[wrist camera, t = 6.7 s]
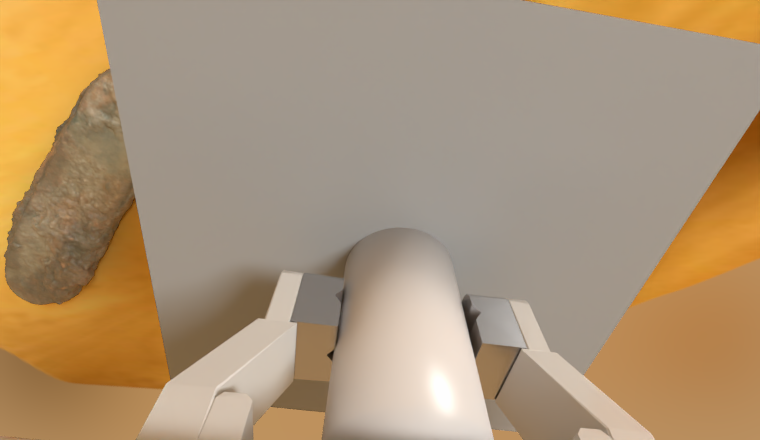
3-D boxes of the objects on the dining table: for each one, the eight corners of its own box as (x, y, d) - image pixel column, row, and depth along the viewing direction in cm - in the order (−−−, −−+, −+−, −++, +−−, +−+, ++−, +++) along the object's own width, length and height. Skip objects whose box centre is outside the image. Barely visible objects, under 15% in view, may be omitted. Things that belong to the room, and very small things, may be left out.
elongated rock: (211, 102, 40) (117, 31, 37) (189, 114, 35) (78, 34, 32) (81, 309, 52) (2, 268, 49) (51, 338, 48) (-38, 295, 45)
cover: (563, 7, 18) (1276, 138, 4) (479, 246, 26) (606, 613, 11) (263, -48, 17) (-400, -168, 3) (263, 217, 25) (83, 578, 10)
